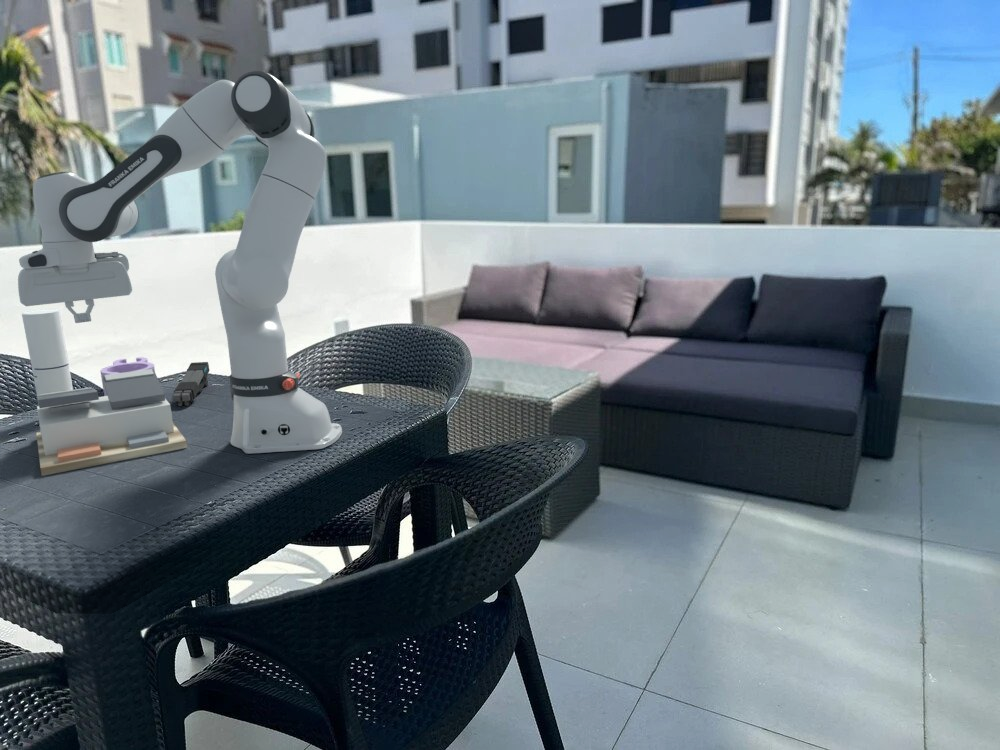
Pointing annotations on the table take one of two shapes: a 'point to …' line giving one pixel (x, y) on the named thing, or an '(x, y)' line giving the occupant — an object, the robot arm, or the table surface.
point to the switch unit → (103, 434)
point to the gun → (191, 383)
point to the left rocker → (67, 397)
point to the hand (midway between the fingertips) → (83, 321)
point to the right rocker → (133, 388)
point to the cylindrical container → (47, 351)
